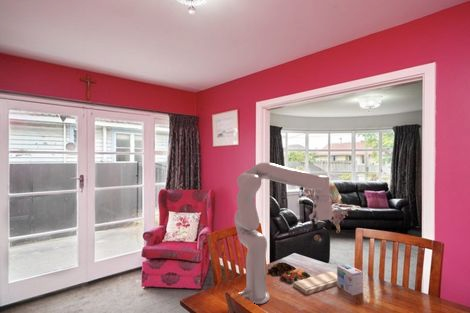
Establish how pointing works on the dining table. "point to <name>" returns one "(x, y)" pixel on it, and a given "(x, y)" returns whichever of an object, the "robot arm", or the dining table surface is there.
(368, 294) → the dining table surface
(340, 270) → the light bulb box
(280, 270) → the food
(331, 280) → the plank
